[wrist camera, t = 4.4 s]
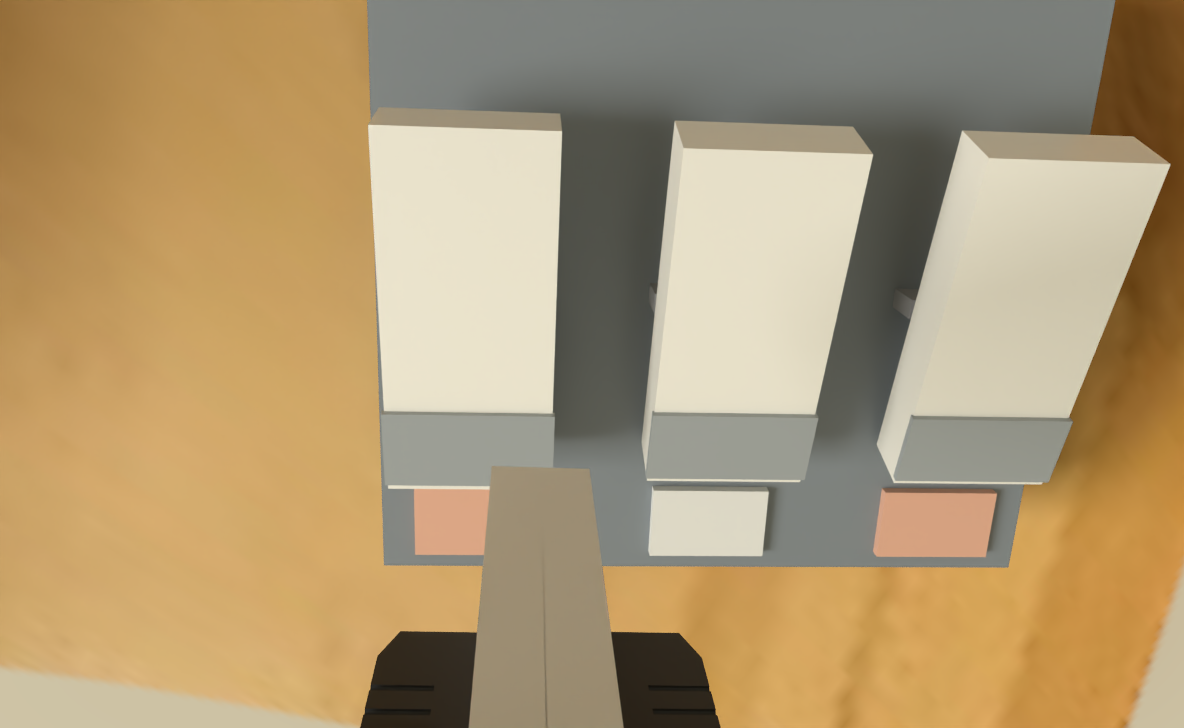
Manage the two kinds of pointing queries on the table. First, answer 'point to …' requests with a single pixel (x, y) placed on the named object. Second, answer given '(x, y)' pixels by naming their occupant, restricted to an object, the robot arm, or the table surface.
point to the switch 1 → (465, 291)
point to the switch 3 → (1014, 303)
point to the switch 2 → (748, 296)
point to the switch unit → (636, 220)
